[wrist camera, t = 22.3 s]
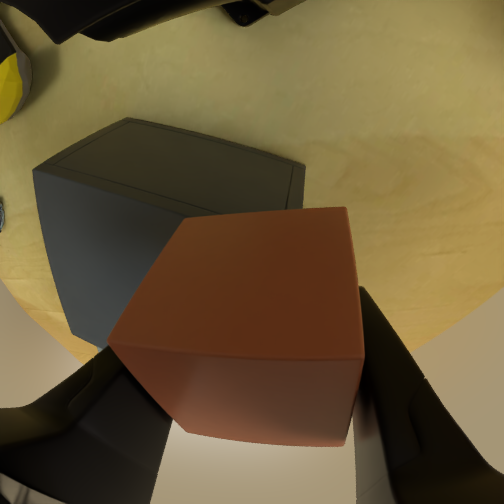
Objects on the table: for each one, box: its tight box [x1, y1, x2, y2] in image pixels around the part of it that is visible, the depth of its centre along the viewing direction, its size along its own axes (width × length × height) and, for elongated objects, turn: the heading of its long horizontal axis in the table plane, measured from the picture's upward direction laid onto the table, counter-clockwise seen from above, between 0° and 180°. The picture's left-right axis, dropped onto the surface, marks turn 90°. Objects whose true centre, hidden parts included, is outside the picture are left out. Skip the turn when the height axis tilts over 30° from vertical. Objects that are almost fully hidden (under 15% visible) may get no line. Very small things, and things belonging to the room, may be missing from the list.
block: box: [107, 207, 365, 447], centre depth 7 cm, size 4×4×4 cm
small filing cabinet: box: [32, 118, 306, 349], centre depth 19 cm, size 14×13×9 cm
